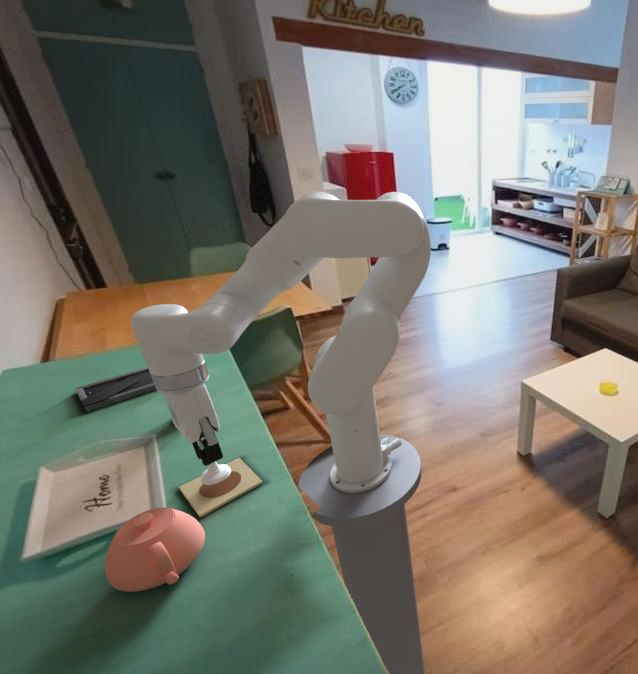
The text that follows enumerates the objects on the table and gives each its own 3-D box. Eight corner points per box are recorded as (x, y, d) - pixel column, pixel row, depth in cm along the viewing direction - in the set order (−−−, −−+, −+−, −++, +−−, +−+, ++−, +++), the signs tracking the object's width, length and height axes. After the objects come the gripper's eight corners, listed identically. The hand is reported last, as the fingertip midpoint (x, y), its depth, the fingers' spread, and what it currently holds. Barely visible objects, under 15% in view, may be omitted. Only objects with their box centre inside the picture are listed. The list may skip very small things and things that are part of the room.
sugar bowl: (195, 520, 76) (177, 477, 71) (224, 566, 68) (206, 521, 63) (106, 567, 67) (79, 522, 63) (127, 626, 59) (99, 579, 55)
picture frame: (86, 412, 104) (173, 384, 117) (83, 405, 103) (171, 377, 116) (77, 393, 112) (160, 368, 124) (74, 386, 111) (157, 362, 123)
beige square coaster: (239, 459, 90) (238, 456, 90) (263, 483, 84) (262, 480, 84) (179, 489, 82) (178, 486, 82) (200, 517, 76) (199, 515, 76)
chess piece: (236, 471, 83) (223, 431, 79) (211, 488, 79) (196, 446, 75) (220, 463, 85) (207, 423, 80) (195, 479, 81) (179, 438, 76)
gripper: (140, 368, 74) (173, 450, 82) (170, 401, 65) (204, 489, 73) (189, 353, 79) (216, 431, 87) (223, 382, 71) (249, 466, 78)
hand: (210, 457), depth 80 cm, fingers closed on chess piece
